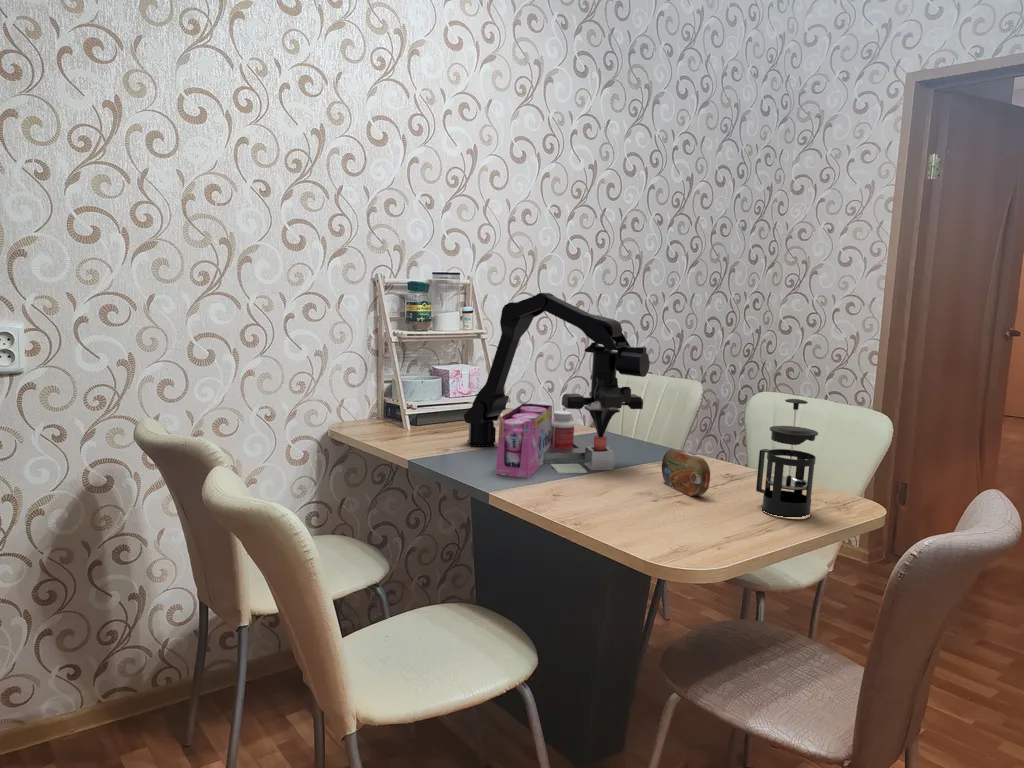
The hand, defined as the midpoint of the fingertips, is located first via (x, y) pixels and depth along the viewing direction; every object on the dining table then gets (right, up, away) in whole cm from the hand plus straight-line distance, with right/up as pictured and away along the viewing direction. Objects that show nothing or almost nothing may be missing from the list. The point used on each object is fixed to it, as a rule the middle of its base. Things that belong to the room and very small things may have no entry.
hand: (600, 436), depth 173 cm
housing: (0, -7, +1) cm, 8 cm away
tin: (+16, -11, -16) cm, 25 cm away
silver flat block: (-7, -6, +11) cm, 14 cm away
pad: (-8, -8, -2) cm, 11 cm away
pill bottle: (-9, -6, +13) cm, 16 cm away
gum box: (-18, -7, +1) cm, 20 cm away
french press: (+33, -13, -28) cm, 46 cm away
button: (0, -3, 0) cm, 3 cm away
